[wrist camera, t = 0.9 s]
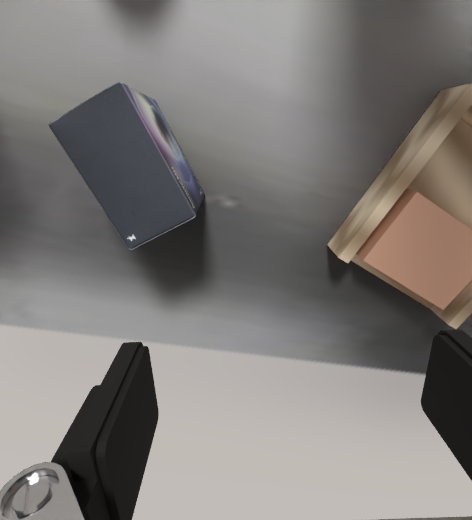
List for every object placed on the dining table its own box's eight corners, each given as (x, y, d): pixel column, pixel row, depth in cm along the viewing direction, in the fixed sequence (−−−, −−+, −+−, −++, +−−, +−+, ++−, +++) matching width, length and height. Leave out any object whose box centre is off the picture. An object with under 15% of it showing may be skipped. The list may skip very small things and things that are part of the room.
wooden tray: (441, 89, 31) (471, 83, 27) (554, 179, 34) (595, 184, 30) (327, 244, 37) (338, 257, 33) (433, 310, 40) (456, 329, 36)
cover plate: (401, 187, 34) (417, 191, 31) (478, 240, 36) (499, 249, 33) (352, 250, 36) (363, 260, 33) (427, 297, 38) (443, 310, 35)
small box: (210, 195, 35) (201, 218, 25) (157, 222, 36) (128, 255, 26) (156, 95, 31) (122, 76, 21) (99, 128, 32) (41, 125, 22)
